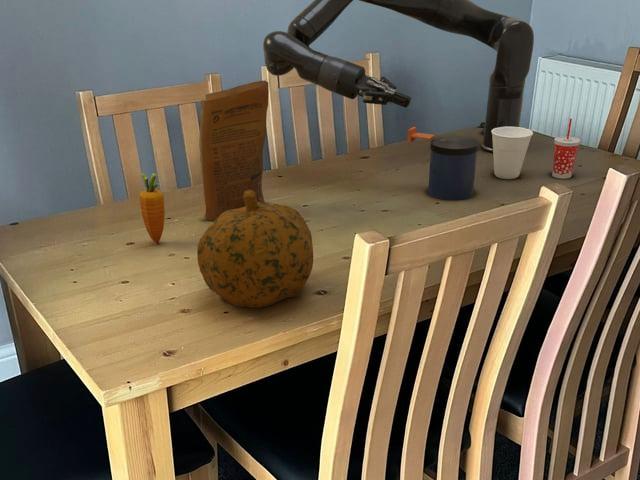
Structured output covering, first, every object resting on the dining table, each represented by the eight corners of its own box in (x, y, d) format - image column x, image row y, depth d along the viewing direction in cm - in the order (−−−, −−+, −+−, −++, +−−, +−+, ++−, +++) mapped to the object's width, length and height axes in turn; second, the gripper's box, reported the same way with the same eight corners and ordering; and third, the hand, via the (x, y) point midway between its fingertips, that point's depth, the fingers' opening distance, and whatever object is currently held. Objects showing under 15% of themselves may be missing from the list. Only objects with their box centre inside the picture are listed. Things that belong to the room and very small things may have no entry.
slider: (407, 142, 187) (407, 129, 186) (412, 139, 190) (413, 126, 188) (429, 145, 185) (430, 132, 183) (434, 142, 187) (435, 129, 185)
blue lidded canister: (419, 196, 188) (423, 145, 181) (437, 182, 196) (440, 133, 189) (464, 203, 183) (469, 151, 176) (480, 189, 191) (485, 139, 184)
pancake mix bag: (280, 207, 183) (277, 80, 168) (211, 227, 173) (201, 94, 158) (263, 200, 187) (259, 76, 173) (194, 218, 178) (183, 88, 163)
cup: (531, 181, 195) (537, 136, 189) (490, 182, 195) (495, 137, 189) (521, 169, 203) (527, 126, 198) (483, 170, 204) (487, 126, 198)
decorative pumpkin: (344, 294, 141) (334, 185, 130) (243, 335, 132) (224, 222, 122) (283, 261, 156) (270, 161, 145) (189, 296, 147) (168, 193, 137)
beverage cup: (556, 170, 202) (565, 114, 195) (578, 175, 198) (588, 118, 191) (544, 176, 198) (552, 119, 191) (567, 181, 195) (576, 123, 187)
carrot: (142, 241, 167) (133, 171, 159) (165, 237, 168) (157, 167, 160) (148, 249, 163) (139, 178, 155) (171, 245, 164) (164, 174, 156)
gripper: (347, 84, 193) (412, 109, 190) (327, 101, 183) (395, 127, 180) (354, 53, 188) (422, 78, 185) (334, 69, 178) (405, 96, 175)
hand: (409, 102), depth 182 cm, fingers closed
